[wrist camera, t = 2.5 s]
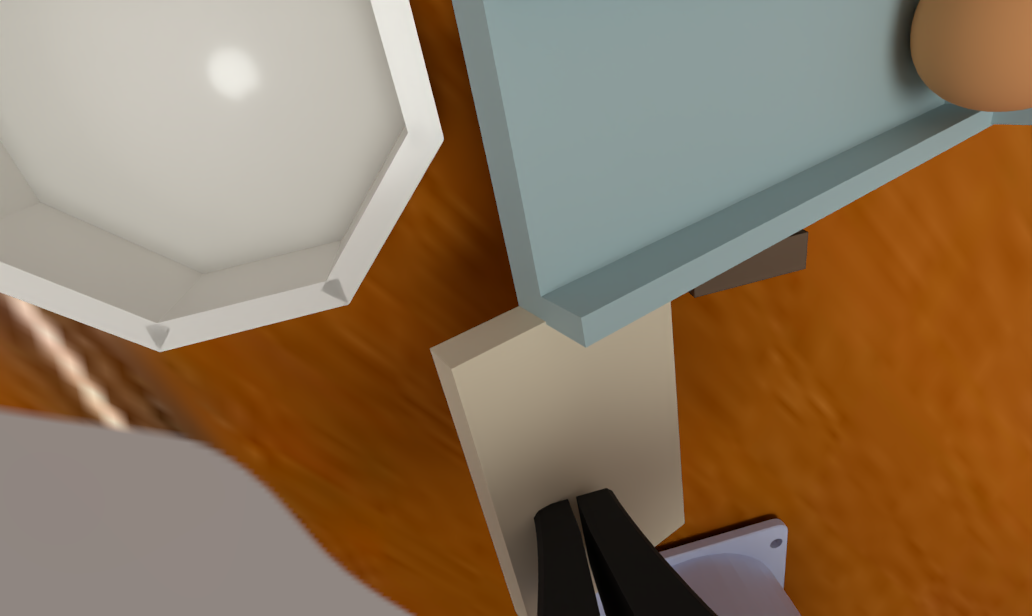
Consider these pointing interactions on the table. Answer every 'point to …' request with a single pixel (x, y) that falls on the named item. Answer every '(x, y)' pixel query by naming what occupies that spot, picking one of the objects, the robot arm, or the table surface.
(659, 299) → the lever
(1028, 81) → the ball
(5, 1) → the bowl
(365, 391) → the table surface
